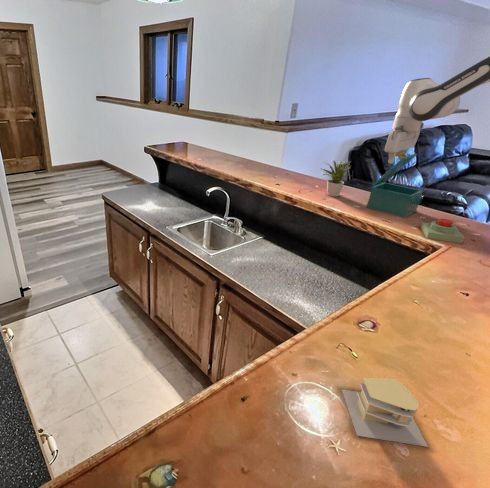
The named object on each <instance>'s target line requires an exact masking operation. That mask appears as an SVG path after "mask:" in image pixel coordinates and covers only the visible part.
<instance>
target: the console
mask: <svg viewBox="0 0 490 488" xmlns="http://www.w3.org/2000/svg"><path fill="white" fill-rule="evenodd" d="M437 222H438V220H433V221H431V222H425V221H424V222H421V223H420V226H419V227H420V230H421V231H422V233H423V235H424V236H425V238H426V239H430V240H437V241H444V242H445V241H446V242H452V243H460V244H462V243H463V241H464V239H465V236H464V235H463V234H462V233H461V232H460V230H459V228H458V226H457V225H456V224H454V223H452V225H451V227H443V226H439V225H437Z"/></svg>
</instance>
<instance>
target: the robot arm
mask: <svg viewBox="0 0 490 488" xmlns="http://www.w3.org/2000/svg"><path fill="white" fill-rule="evenodd" d="M487 83H490V54H489V55H487V56H486V57H484V58H483V59H482V60H480V61H479V62H477V63H475V64H472V66H470V67H468V68H466V69H465V70H463V71H461V72H459V73H457V74H456V75H454V76H453V77H451V78H449V79H447V80H446V81H444V82H443V83H441V84H439V83H437V82H436V81H434V80H433V78H431V77H423V78H422V77H421V78H420V77H419V78H415V79H411V80H409V81H407V83H406V84H405V85H404V88H403V90H402V93H401V95H400V97H399V101H398V110H397V112H396V114H395V116H394V120H393V123H392V127H391V129H392V131H391V132H390V133H389V135H388V137H387V140H386V143H385V146H384V152H385V153H388V160H387V163H388V164H394V163H395V161H396V156H395V155H396V152H399V151H403V152H404V154H405V155H406V156H407V153H408V152H409V149H413V148H414V147H415V146H416V145H417V144H416V143H417V141H418V139H419V136H420V134H421V130H422V129H423V128H424V125H425V123H424V122H425V121H430V120H434V119H441V118H445V117H448V116H451V115H452V114H454V113H455V112H456V111H457V110H458V108H459V106H460V103H461V96H463V95H465V94H467V93H468V92H470V91H472V90H475V89H476V88H478V87H480V86H482V85H485V84H487ZM400 156H401V157H402V158H403V156H402V155H400ZM397 160H398V161H400V160H401V159H400V158H399V157H398V156H397Z"/></svg>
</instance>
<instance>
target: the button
mask: <svg viewBox="0 0 490 488" xmlns="http://www.w3.org/2000/svg"><path fill="white" fill-rule="evenodd" d="M437 221H438V222H437V225H439V226H443V227H451V225H452V224H454V223H453V222H454V221H452V220H451V219H447V218H438V220H437Z"/></svg>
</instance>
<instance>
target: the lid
mask: <svg viewBox="0 0 490 488" xmlns="http://www.w3.org/2000/svg"><path fill="white" fill-rule="evenodd" d="M400 155H402V156H403V158H402V157H401V156H400ZM416 156H417V153H413V154H409V155H407V154H406V155H405V154H404V152H403V151H399V152H396V155H395V157H397V158H398V157H399V158H400V159H401V160H398V161H397V162H396V164H394V165H393V166H392V167H390V168H389V170H387V171H386V172H385V173H384V174H383V175H382V176H380V177H379V178H378V179H377V180H376V181H375V182H373V184H371V186H372V187H374V186H377V185H379V184H382V183H387V181H389V180H390V179H391V178H392V177H393V176H394V175H395V174H397V173H398V172H399V171H400V170H401V169H402V168H403V167H405V166H406V165H407V164H408V163H409V162H410V161H412V160H413V159H414V158H415V157H416Z"/></svg>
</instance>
